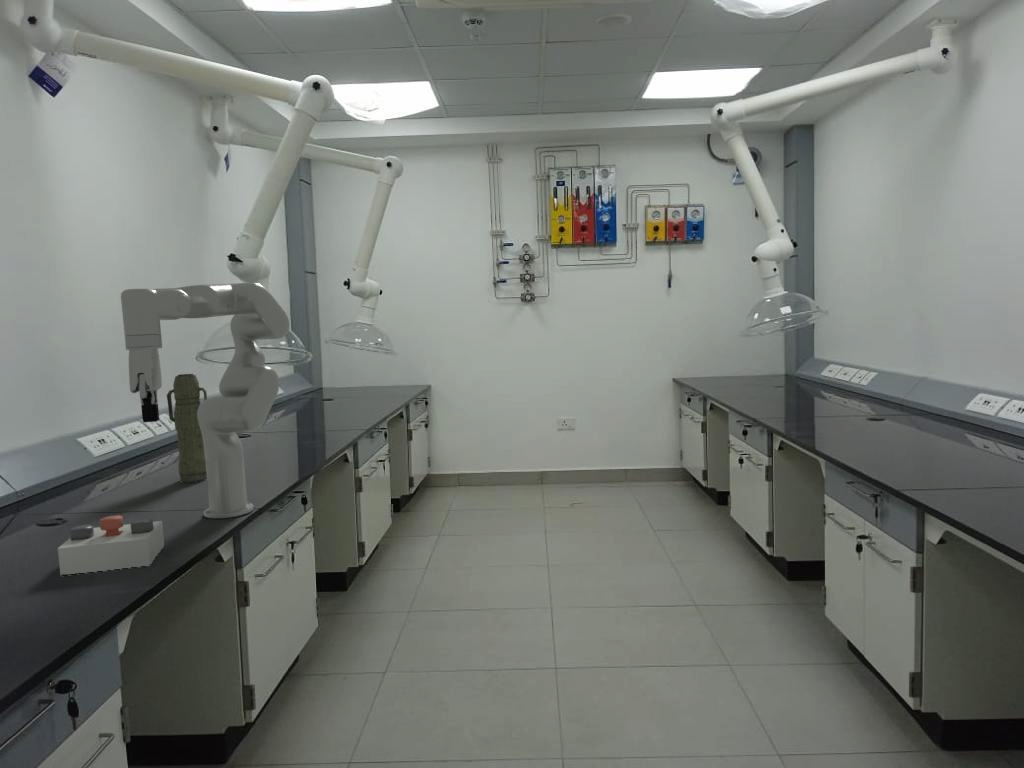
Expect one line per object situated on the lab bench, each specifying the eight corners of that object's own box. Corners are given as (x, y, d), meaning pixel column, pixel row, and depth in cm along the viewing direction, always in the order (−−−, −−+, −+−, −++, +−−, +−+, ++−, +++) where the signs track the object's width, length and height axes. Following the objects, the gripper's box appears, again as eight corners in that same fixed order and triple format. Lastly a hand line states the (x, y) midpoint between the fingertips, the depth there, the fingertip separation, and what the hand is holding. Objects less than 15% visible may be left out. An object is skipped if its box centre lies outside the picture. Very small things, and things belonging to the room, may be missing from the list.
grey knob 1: (76, 550, 157) (73, 526, 156) (98, 548, 158) (95, 523, 157) (69, 556, 152) (66, 532, 152) (91, 554, 153) (89, 529, 153)
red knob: (105, 540, 158) (103, 516, 157) (127, 538, 159) (124, 514, 158) (99, 546, 154) (96, 522, 153) (121, 544, 155) (119, 520, 154)
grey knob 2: (135, 543, 159) (133, 520, 159) (157, 541, 161) (154, 517, 160) (130, 550, 155) (128, 525, 155) (152, 547, 156) (150, 523, 156)
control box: (83, 554, 161) (80, 529, 161) (164, 545, 166) (161, 520, 165) (60, 576, 148) (57, 548, 147) (149, 566, 152) (146, 538, 151)
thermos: (175, 479, 237) (166, 374, 233) (214, 474, 241) (205, 372, 237) (173, 484, 228) (163, 376, 225) (213, 480, 232) (204, 374, 229)
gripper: (134, 342, 170) (141, 418, 171) (116, 344, 155) (124, 427, 157) (168, 341, 171) (175, 416, 173) (153, 343, 157) (161, 424, 159)
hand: (151, 421), depth 165 cm, fingers closed
